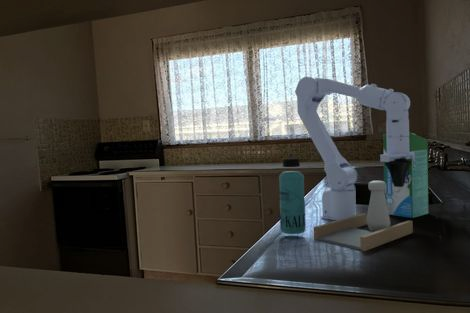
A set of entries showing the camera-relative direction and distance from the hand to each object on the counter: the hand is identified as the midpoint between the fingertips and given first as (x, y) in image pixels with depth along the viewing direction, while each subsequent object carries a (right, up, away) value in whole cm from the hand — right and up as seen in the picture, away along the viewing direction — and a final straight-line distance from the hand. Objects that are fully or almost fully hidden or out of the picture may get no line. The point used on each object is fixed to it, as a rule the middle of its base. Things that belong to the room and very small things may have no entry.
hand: (398, 186), depth 104 cm
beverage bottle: (-30, -12, -8) cm, 34 cm away
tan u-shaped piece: (-13, -11, -10) cm, 20 cm away
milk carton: (+8, -10, +13) cm, 18 cm away
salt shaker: (-8, -11, -6) cm, 15 cm away
